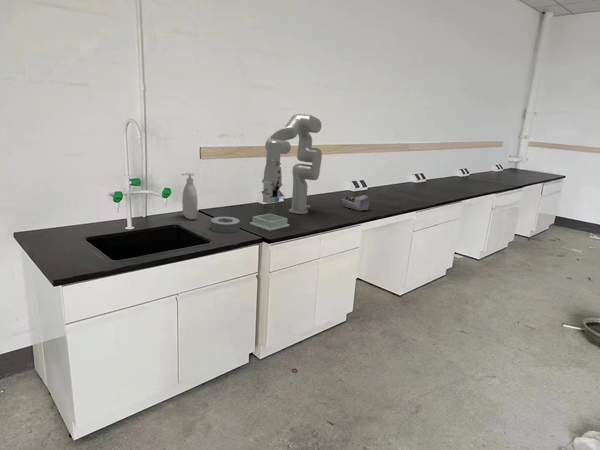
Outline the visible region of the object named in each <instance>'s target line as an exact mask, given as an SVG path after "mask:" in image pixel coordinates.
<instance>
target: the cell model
mask: <svg viewBox="0 0 600 450" xmlns="http://www.w3.org/2000/svg"><path fill="white" fill-rule="evenodd" d="M341 204H342V206H343V207H344V206H345V207H344V208H346V207H347V208H346V209H348V208H351V210H353V209H354V210H353V211H360V212H361V211H368V209H369V206H370V199H369V197H368V196H367V195H365V194H363V195H360V196H356V197H355V196H351V197H349V196H345V197H342V198H341Z"/></svg>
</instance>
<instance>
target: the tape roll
mask: <svg viewBox="0 0 600 450" xmlns="http://www.w3.org/2000/svg"><path fill="white" fill-rule="evenodd" d="M240 222H241V220H240V219H238V218H237V217H232V216H216V217H212V218H211V219H210V230H211V231H212V232H215V233H221V234H233V233H237V232H239V231H240V224H241V223H240Z"/></svg>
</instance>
